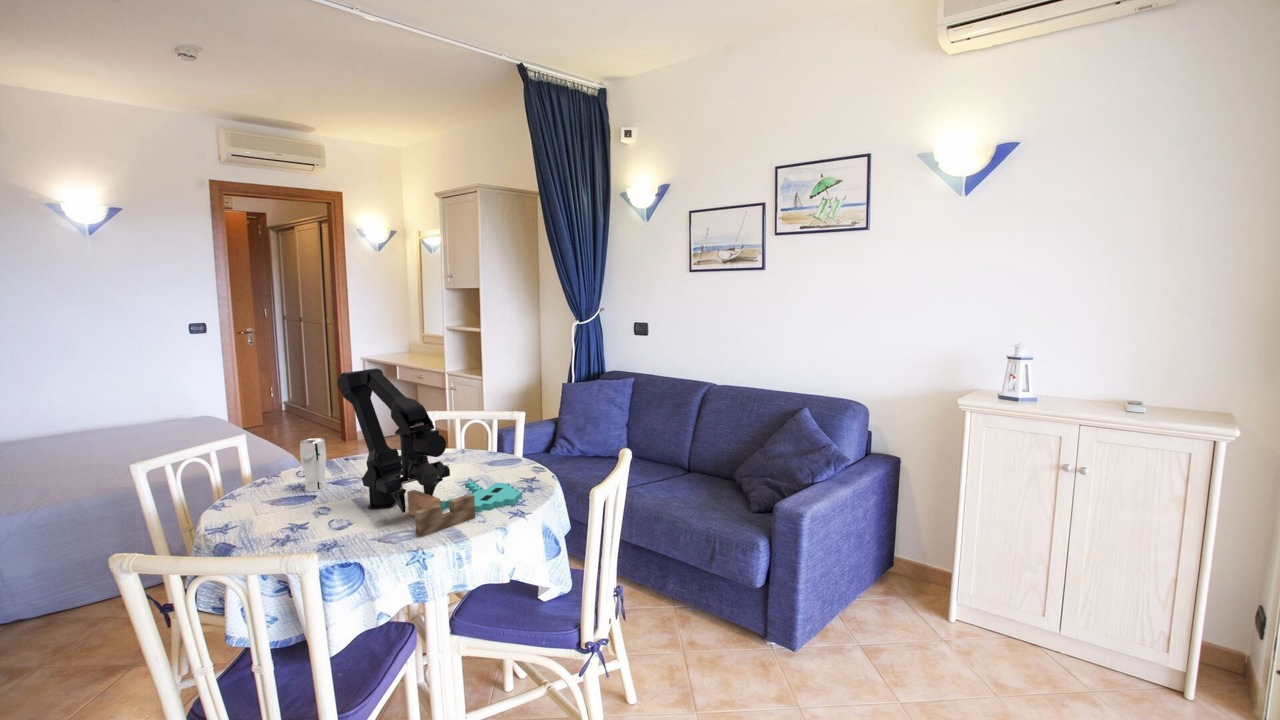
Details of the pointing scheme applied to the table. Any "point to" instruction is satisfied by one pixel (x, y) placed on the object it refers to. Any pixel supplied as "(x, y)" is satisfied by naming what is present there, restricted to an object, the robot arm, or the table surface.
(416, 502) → the terracotta u-shaped block
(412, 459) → the robot arm
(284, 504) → the table surface
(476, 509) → the alien figure
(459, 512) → the notched wooden block
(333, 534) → the table surface
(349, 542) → the table surface
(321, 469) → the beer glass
